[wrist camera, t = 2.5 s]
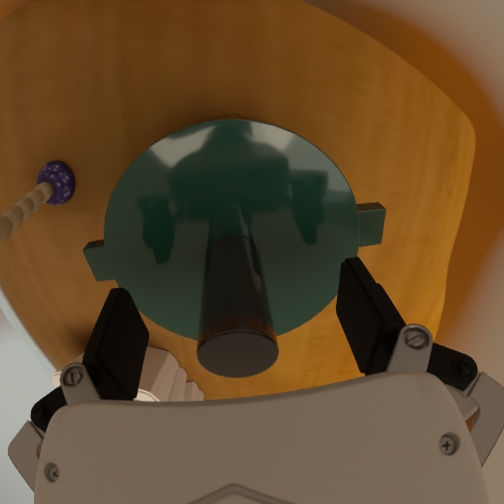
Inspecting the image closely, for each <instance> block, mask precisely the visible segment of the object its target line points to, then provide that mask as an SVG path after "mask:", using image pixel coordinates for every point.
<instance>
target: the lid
mask: <svg viewBox="0 0 504 504" xmlns="http://www.w3.org/2000/svg"><path fill="white" fill-rule="evenodd" d="M359 242H360V221H359V212H358V208H357V205H356V201H355V197H354V195H353V193H352V190H351V188H350V186H349V184H348V182H347V180H346V179H345V177H344V175H343V174H342V172H341V171H340V169H339V168H338V167H337V166H336V165H335V163H334V162H333V161H332V160H331V159H330V158H329V157H328V156H327V155H326V154H325V153H324V152H323V151H322V150H320V149H319V148H318V147H317V146H315V145H314V144H313V143H312V142H310V141H308V140H307V139H305V138H303V137H301V136H300V135H298V134H296V133H294V132H293V131H290V130H288V129H285V128H282V127H280V126H277V125H275V124H271V123H267V122H262V121H257V120H252V119H238V118H228V119H215V120H208V121H204V122H200V123H196V124H192V125H189V126H186V127H184V128H181V129H179V130H176V131H174V132H171V133H170V134H168V135H166V136H165V137H163V138H161V139H160V140H158V141H156V142H155V143H153V144H152V145H151V146H149V147H148V148H147V149H146V150H145V151H143V152H142V153H141V154H140V155H139V156H137V158H136V159H135V160H134V161H133V162H132V163H131V164H130V165H129V167H128V168H127V169H126V170H125V172H124V173H123V175H122V176H121V178H120V179H119V181H118V183H117V184H116V186H115V188H114V191H113V193H112V195H111V198H110V200H109V203H108V207H107V211H106V215H105V223H104V244H105V251H106V256H107V260H108V263H109V266H110V269H111V272H112V274H113V276H114V278H115V280H116V282H117V284H118V286H119V287H120V288H122V287H123V288H125V290H128V291H129V293H130V295H131V297H132V299H133V301H134V303H135V305H136V307H137V309H138V310H139V311H140V312H141V313H143V314H144V315H145V316H146V317H148V318H149V319H150V320H152V321H153V322H155V323H156V324H158V325H160V326H162V327H163V328H165V329H167V330H169V331H171V332H174V333H176V334H179V335H181V336H184V337H187V338H191V339H194V340H198V341H197V358H198V361H199V363H200V364H201V365H202V367H204V368H205V369H206V370H208V371H209V372H211V373H213V374H216V375H219V376H223V377H231V378H241V377H249V376H253V375H256V374H259V373H261V372H263V371H265V370H267V369H269V368H270V367H271V366H272V365H273V364H274V363H275V362H276V360H277V358H278V355H279V348H278V343H277V338H276V336H279V335H281V334H284V333H287V332H289V331H291V330H293V329H295V328H297V327H299V326H301V325H302V324H304V323H306V322H307V321H309V320H310V319H312V318H313V317H314V316H316V315H317V314H318V313H320V312H321V311H322V310H323V309H324V308H325V307H326V306H327V305H328V304H329V303H330V302H331V301H332V300H333V299H334V298H335V296H336V295H337V294H338V287H339V278H340V268H341V263H342V262H344V261H345V259H346V258H352V257H357V253H358V247H359Z"/></svg>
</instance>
